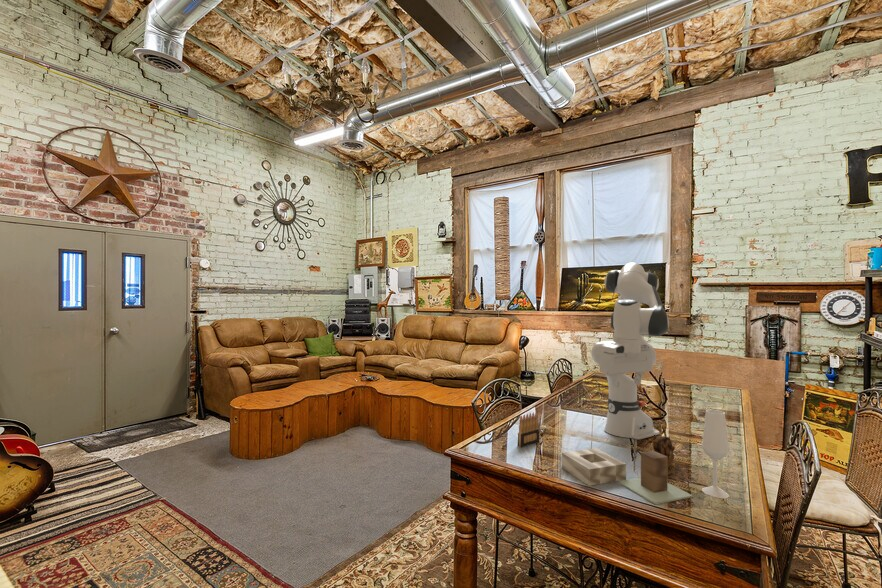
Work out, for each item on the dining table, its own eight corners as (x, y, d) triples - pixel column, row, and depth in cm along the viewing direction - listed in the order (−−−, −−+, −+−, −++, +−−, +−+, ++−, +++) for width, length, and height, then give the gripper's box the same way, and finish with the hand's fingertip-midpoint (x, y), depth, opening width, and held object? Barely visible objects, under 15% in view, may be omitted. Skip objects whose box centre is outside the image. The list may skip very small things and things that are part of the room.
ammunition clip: (521, 447, 155) (521, 416, 155) (517, 446, 157) (517, 415, 157) (539, 441, 161) (539, 411, 162) (535, 440, 163) (536, 410, 163)
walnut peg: (653, 483, 125) (653, 450, 125) (667, 490, 120) (667, 456, 120) (640, 485, 123) (641, 452, 123) (654, 492, 118) (654, 458, 118)
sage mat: (653, 476, 130) (653, 475, 130) (692, 497, 117) (692, 495, 117) (618, 482, 126) (618, 481, 126) (654, 504, 113) (655, 502, 113)
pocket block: (595, 462, 141) (595, 448, 141) (625, 479, 128) (626, 463, 128) (561, 467, 137) (561, 452, 137) (589, 485, 124) (589, 469, 124)
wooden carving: (664, 476, 131) (664, 445, 131) (649, 472, 134) (649, 442, 134) (677, 461, 143) (677, 433, 143) (662, 458, 146) (663, 430, 146)
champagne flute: (698, 486, 124) (698, 407, 124) (723, 489, 122) (724, 409, 122) (706, 496, 118) (706, 413, 118) (732, 499, 116) (733, 415, 116)
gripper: (642, 343, 148) (642, 380, 148) (597, 346, 141) (597, 385, 141) (657, 345, 142) (657, 384, 142) (610, 349, 135) (610, 390, 135)
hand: (626, 385), depth 142 cm, fingers open, 8 cm apart
